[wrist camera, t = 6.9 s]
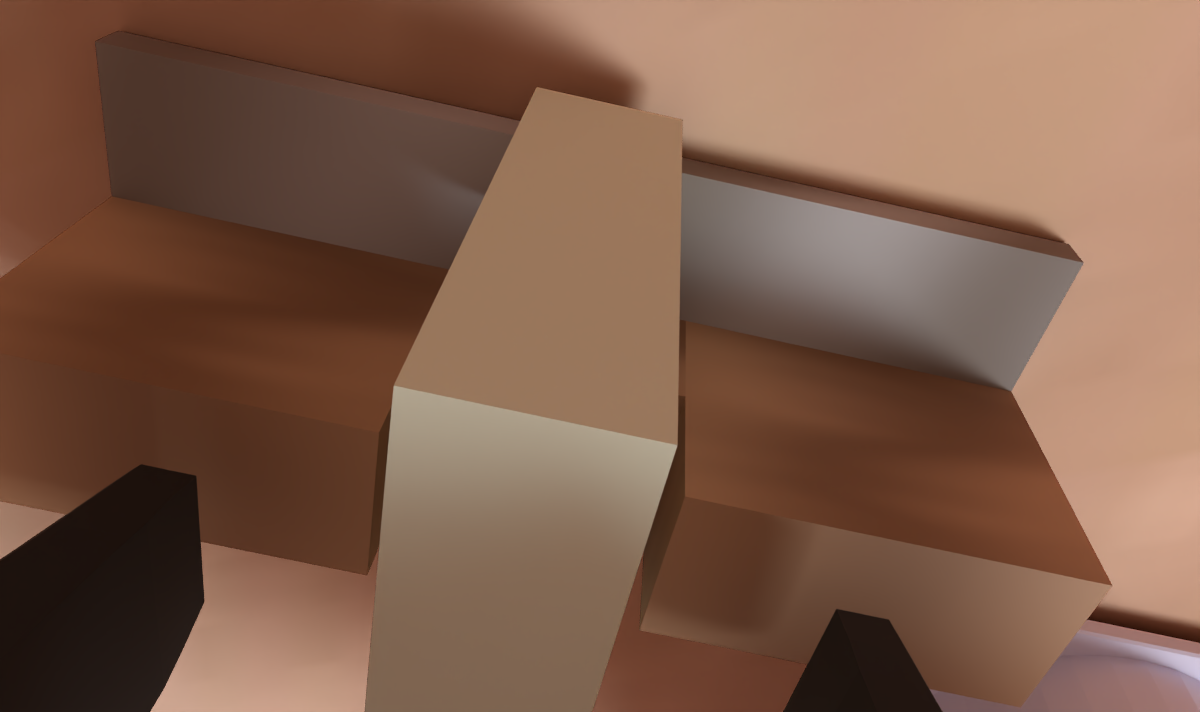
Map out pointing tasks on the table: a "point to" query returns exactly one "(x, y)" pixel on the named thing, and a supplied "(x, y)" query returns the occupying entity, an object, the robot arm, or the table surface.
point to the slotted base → (706, 367)
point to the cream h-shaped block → (534, 423)
